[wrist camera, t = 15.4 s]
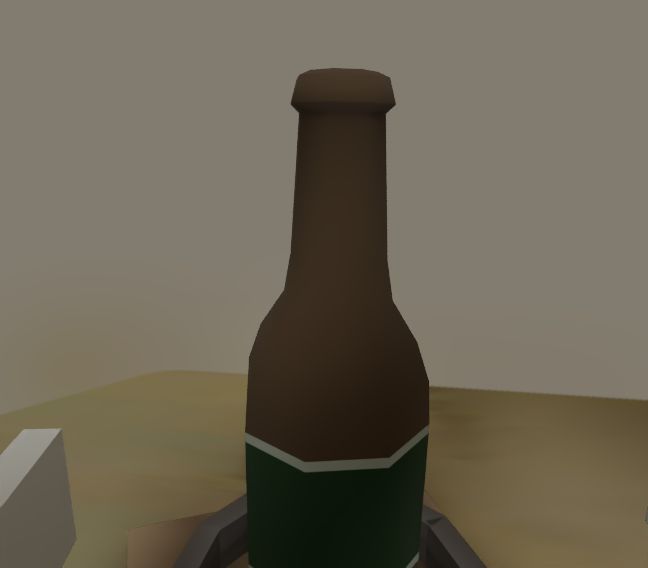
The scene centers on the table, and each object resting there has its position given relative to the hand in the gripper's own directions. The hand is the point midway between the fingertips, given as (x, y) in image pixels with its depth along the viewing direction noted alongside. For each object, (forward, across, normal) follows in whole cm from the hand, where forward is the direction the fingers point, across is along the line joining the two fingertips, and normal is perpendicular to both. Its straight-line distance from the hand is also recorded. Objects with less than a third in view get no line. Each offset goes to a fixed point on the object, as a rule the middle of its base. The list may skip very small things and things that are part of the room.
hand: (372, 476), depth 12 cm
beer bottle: (+10, 0, -15) cm, 18 cm away
